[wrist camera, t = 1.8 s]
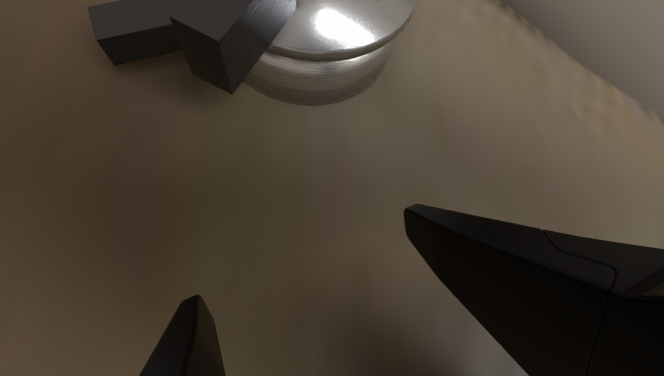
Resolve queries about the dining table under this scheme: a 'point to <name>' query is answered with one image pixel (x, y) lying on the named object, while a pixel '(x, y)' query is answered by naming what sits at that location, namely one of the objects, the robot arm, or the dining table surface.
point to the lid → (281, 32)
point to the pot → (266, 76)
